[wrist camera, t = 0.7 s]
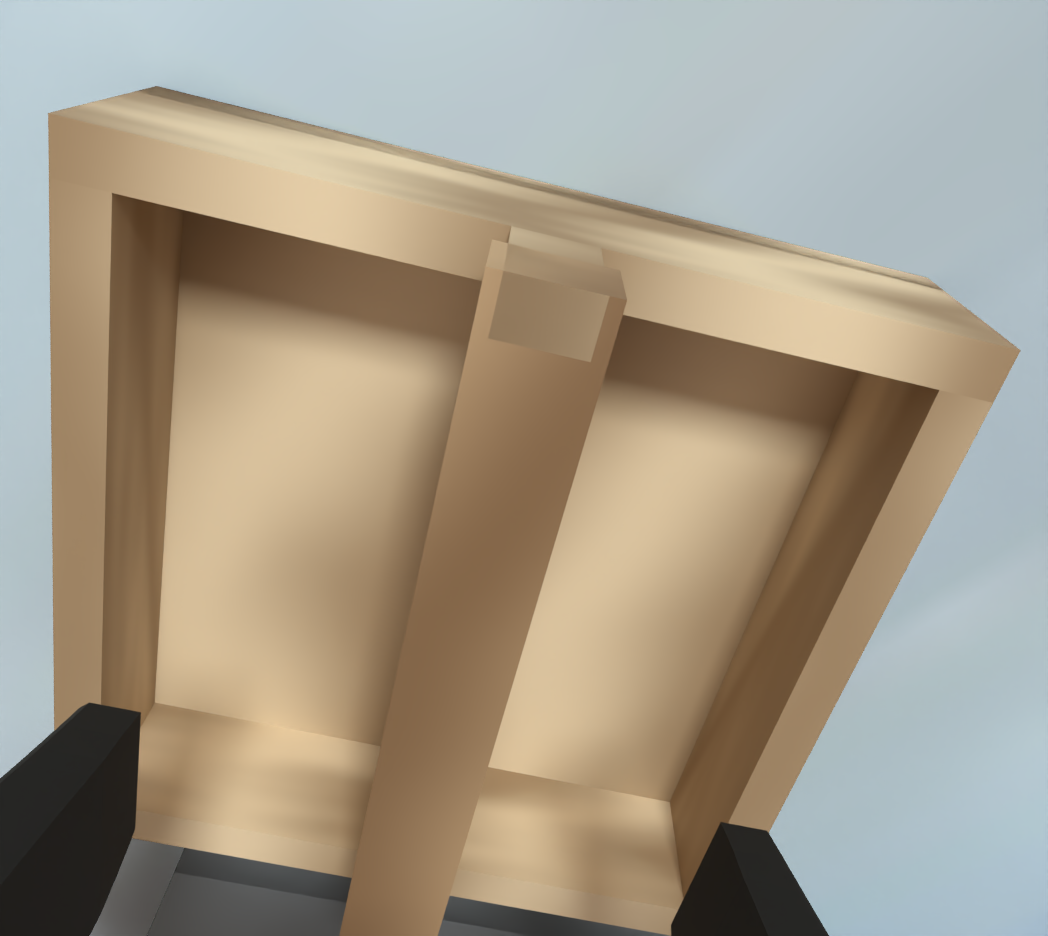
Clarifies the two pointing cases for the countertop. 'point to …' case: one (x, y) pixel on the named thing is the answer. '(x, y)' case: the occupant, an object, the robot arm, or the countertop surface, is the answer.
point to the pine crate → (467, 505)
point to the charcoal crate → (319, 905)
